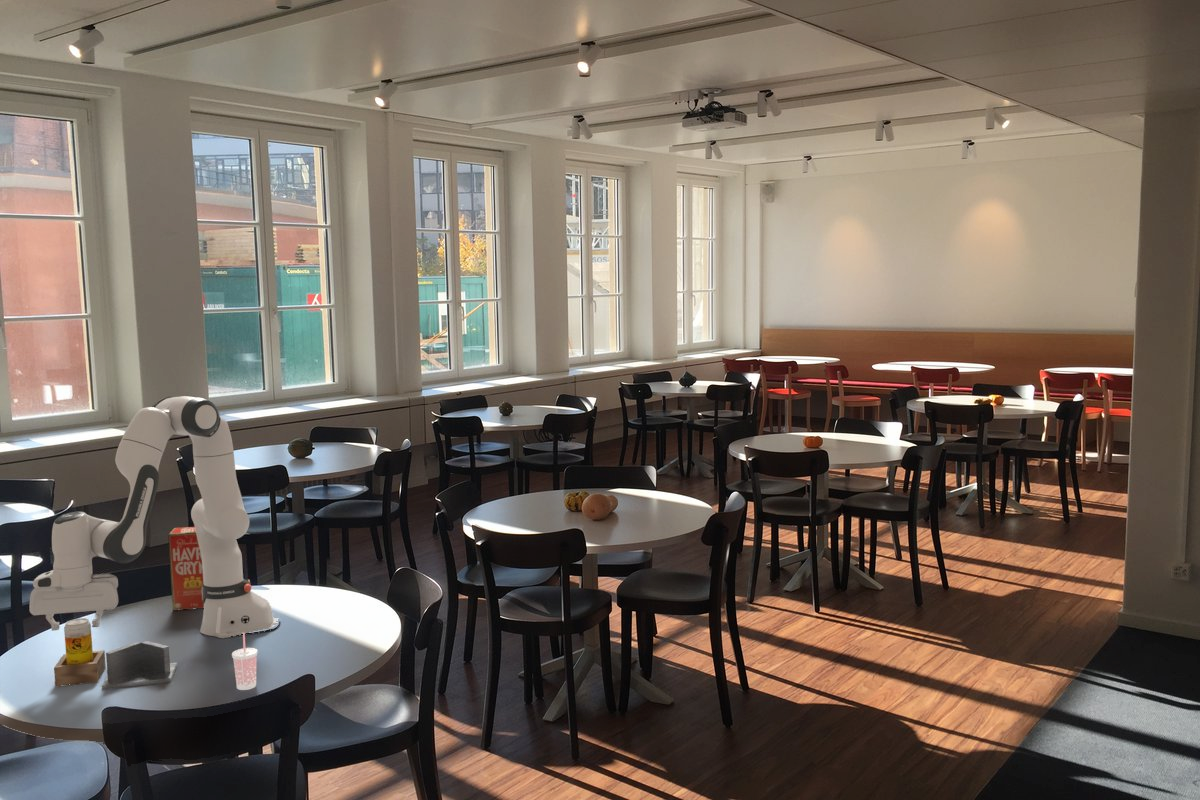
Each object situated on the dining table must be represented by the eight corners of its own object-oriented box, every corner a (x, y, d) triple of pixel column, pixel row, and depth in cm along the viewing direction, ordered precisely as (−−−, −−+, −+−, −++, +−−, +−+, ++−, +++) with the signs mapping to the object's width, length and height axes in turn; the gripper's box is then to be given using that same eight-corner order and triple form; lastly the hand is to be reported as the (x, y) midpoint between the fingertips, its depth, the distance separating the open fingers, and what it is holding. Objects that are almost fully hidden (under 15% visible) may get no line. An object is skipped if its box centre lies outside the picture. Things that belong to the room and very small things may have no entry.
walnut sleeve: (105, 668, 261) (104, 650, 260) (97, 682, 251) (96, 663, 251) (64, 672, 258) (63, 654, 257) (55, 686, 249) (54, 667, 248)
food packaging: (171, 611, 308) (166, 533, 306) (178, 602, 317) (173, 526, 315) (216, 608, 311) (211, 531, 308) (221, 599, 320) (217, 524, 317)
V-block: (176, 665, 262) (175, 637, 261) (170, 681, 251) (168, 651, 250) (111, 673, 257) (109, 643, 256) (102, 689, 246) (99, 659, 245)
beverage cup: (262, 681, 250) (259, 628, 249) (255, 690, 244) (252, 636, 243) (238, 682, 250) (235, 628, 248) (230, 691, 244) (227, 637, 242)
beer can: (67, 683, 251) (63, 626, 249) (68, 675, 256) (64, 620, 254) (94, 679, 253) (90, 622, 252) (94, 671, 259) (90, 616, 257)
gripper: (119, 569, 258) (122, 620, 259) (32, 575, 252) (35, 627, 253) (115, 576, 251) (117, 628, 253) (25, 582, 246) (28, 635, 247)
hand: (75, 628), depth 253 cm, fingers open, 8 cm apart
